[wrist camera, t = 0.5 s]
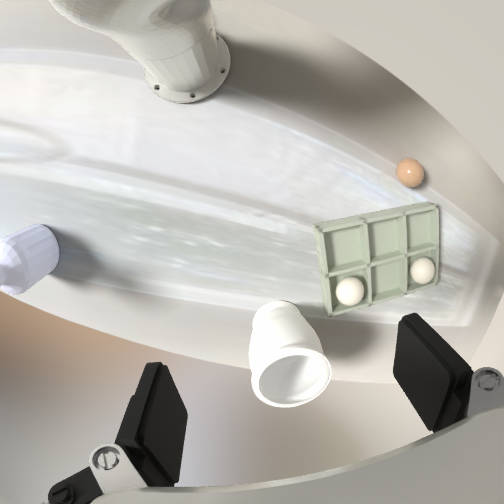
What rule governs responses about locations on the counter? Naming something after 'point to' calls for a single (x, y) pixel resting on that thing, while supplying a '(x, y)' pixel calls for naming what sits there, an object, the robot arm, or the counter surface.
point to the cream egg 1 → (350, 291)
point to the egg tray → (377, 253)
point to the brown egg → (410, 172)
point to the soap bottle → (27, 258)
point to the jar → (286, 357)
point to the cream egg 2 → (422, 270)
